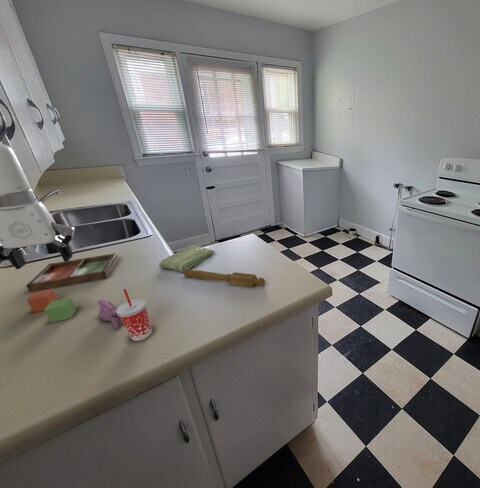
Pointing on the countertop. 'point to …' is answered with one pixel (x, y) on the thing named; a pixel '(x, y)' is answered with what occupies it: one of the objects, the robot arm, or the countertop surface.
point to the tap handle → (227, 277)
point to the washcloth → (186, 258)
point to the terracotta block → (41, 299)
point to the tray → (73, 272)
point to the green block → (60, 309)
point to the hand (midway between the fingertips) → (45, 262)
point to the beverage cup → (135, 318)
